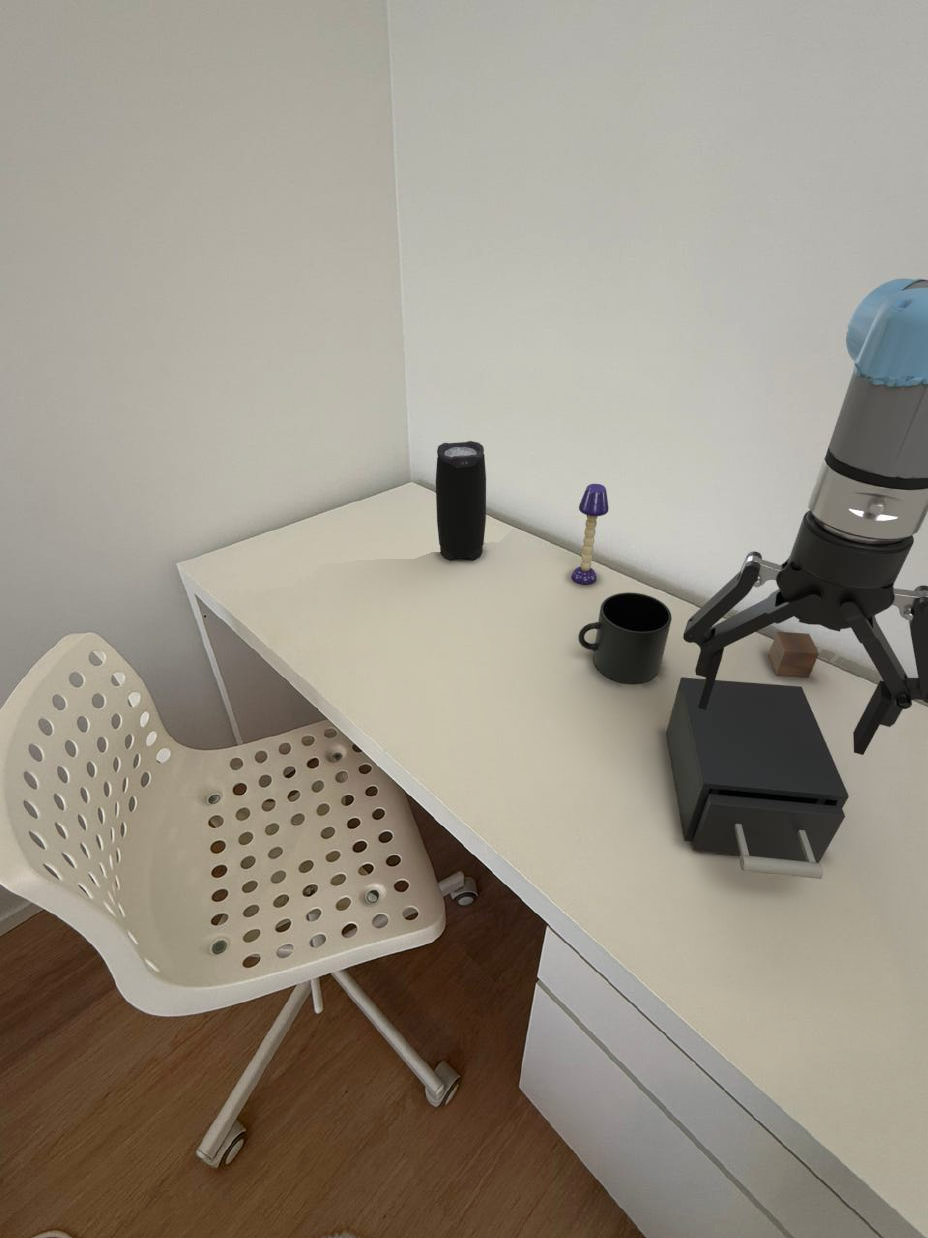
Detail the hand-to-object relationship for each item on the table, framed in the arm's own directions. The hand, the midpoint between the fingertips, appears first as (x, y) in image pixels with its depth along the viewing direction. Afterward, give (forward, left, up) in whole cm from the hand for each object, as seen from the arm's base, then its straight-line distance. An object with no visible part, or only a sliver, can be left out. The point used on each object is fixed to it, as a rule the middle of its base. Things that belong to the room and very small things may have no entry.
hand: (777, 721), depth 61 cm
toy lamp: (+15, -48, -16) cm, 53 cm away
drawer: (-1, 0, -15) cm, 15 cm away
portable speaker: (+37, -54, -16) cm, 68 cm away
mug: (+11, -26, -16) cm, 33 cm away
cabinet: (-1, -5, -16) cm, 17 cm away
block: (-13, -28, -16) cm, 35 cm away
